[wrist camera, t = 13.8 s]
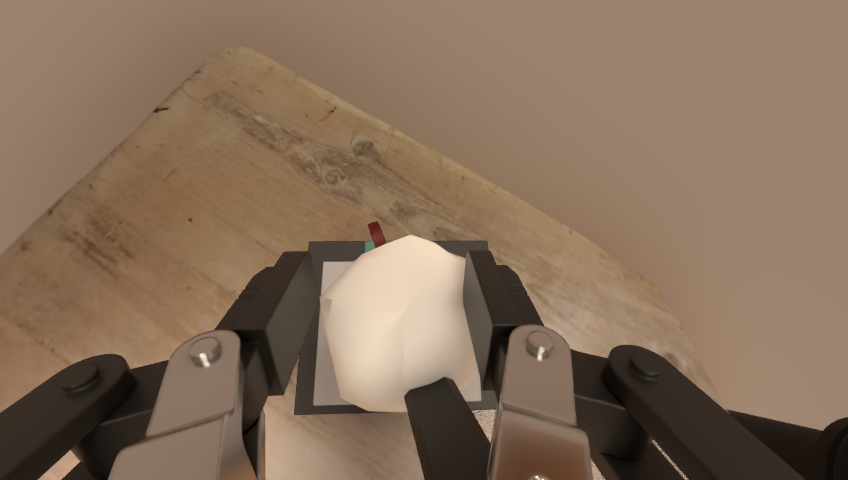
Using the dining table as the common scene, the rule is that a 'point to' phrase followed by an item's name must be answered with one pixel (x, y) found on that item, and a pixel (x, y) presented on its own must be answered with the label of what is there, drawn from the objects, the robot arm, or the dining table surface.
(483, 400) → the scale
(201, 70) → the dining table surface
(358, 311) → the cocoa
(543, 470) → the robot arm
